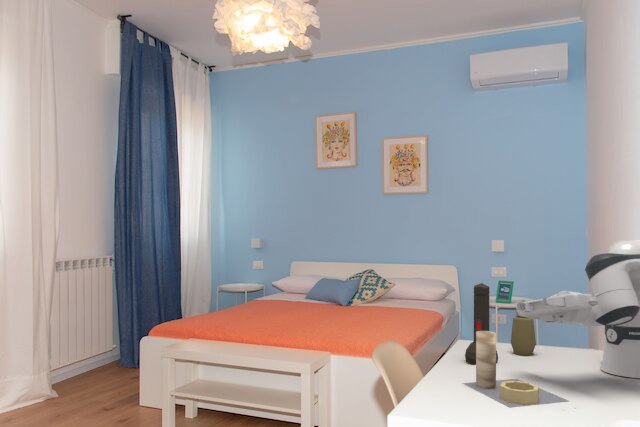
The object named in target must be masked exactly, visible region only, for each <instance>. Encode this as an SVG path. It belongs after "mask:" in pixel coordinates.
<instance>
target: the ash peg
mask: <svg viewBox="0 0 640 427" xmlns="http://www.w3.org/2000/svg"><path fill="white" fill-rule="evenodd" d="M496 350H497V332H495V331H490V330H489V331H477V332H476V365H475V382H476V386H477V387H479V388H483V389H494V388H496V380H497V363H496Z"/></svg>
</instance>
